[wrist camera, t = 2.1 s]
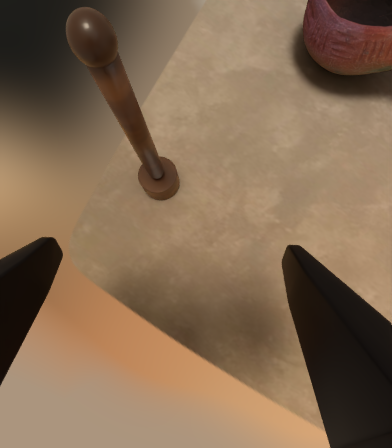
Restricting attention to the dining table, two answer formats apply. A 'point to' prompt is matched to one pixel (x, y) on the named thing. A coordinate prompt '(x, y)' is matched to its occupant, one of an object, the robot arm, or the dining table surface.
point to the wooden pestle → (119, 96)
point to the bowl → (349, 35)
